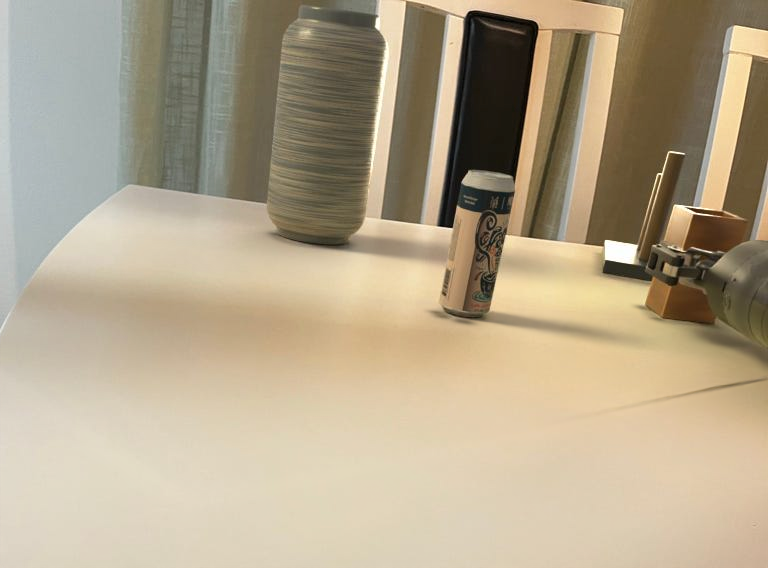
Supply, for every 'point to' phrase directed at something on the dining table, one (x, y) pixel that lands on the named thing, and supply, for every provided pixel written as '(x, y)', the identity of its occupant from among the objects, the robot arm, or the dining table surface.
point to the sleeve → (703, 232)
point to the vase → (326, 124)
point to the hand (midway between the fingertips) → (700, 256)
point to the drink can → (477, 242)
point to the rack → (646, 226)
